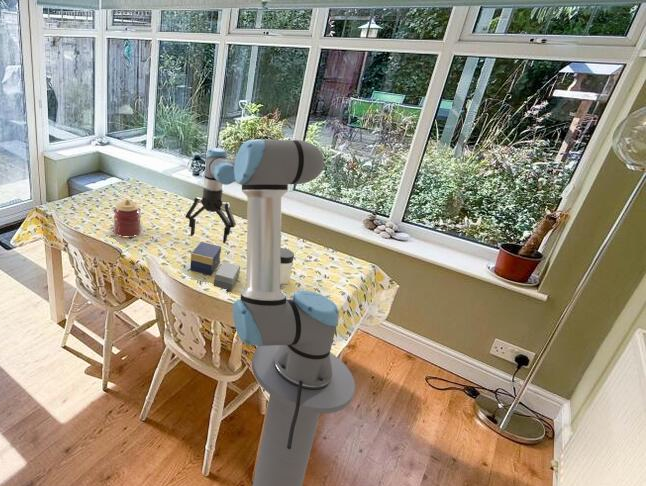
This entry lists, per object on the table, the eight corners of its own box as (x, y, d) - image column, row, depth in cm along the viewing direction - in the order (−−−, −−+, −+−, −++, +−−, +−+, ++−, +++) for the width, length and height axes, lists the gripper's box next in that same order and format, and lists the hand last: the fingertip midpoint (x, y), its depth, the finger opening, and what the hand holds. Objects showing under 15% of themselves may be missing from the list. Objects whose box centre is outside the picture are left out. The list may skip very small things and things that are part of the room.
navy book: (212, 265, 163) (212, 258, 162) (190, 260, 166) (191, 253, 165) (220, 252, 173) (221, 246, 172) (200, 248, 177) (200, 241, 176)
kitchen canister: (110, 229, 204) (109, 196, 197) (134, 225, 208) (134, 192, 202) (119, 240, 193) (119, 206, 186) (144, 236, 197) (145, 202, 191)
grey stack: (231, 290, 155) (232, 279, 153) (213, 286, 158) (214, 274, 156) (239, 276, 165) (240, 265, 163) (222, 272, 168) (223, 261, 166)
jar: (263, 278, 164) (267, 251, 160) (273, 270, 170) (278, 245, 165) (283, 287, 158) (288, 260, 154) (294, 279, 164) (299, 253, 159)
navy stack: (211, 275, 165) (212, 264, 163) (190, 270, 168) (191, 259, 167) (219, 263, 175) (220, 252, 173) (199, 258, 179) (200, 247, 177)
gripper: (247, 191, 158) (241, 241, 165) (186, 181, 168) (182, 228, 175) (242, 196, 151) (236, 248, 158) (179, 185, 162) (176, 234, 169)
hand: (208, 238), depth 167 cm, fingers open, 13 cm apart
